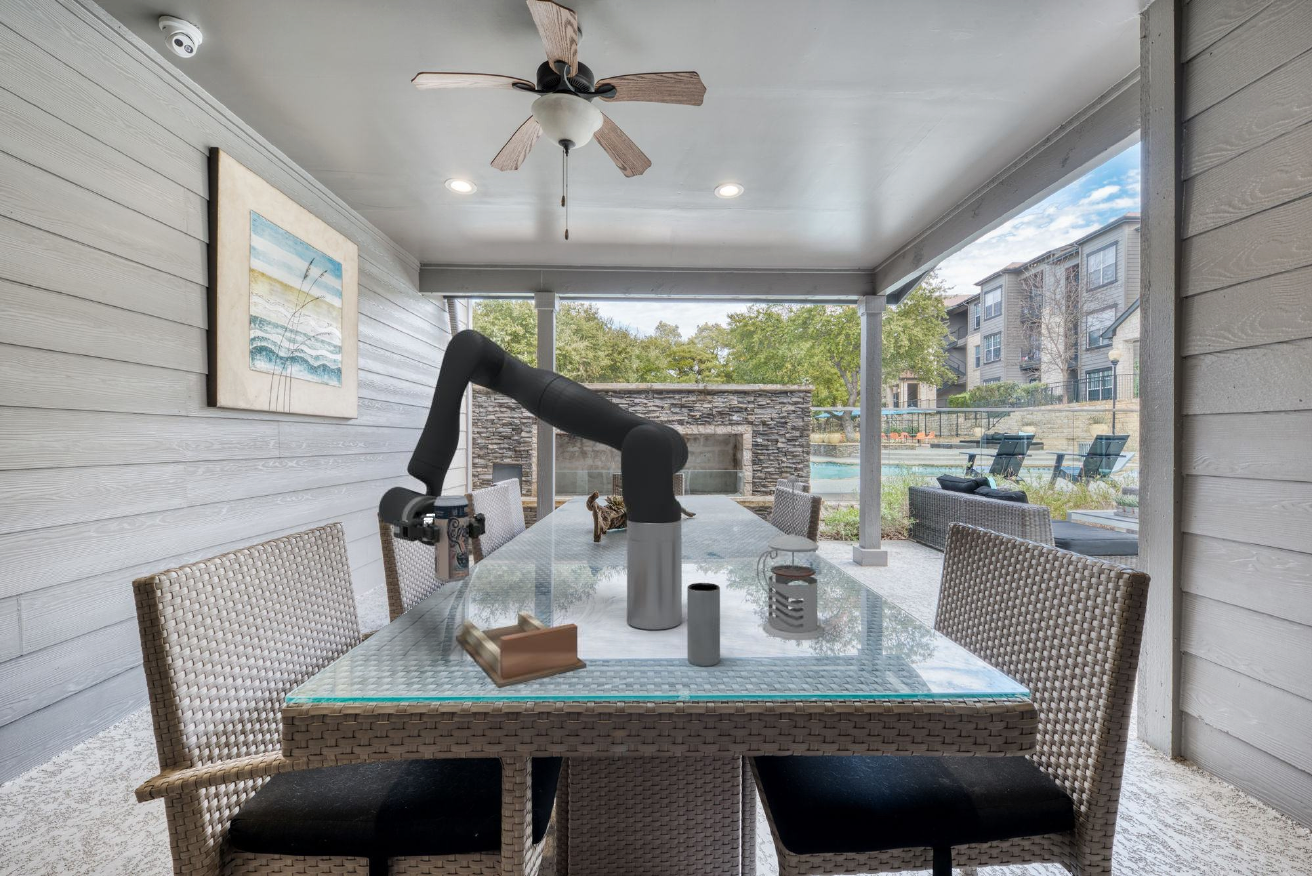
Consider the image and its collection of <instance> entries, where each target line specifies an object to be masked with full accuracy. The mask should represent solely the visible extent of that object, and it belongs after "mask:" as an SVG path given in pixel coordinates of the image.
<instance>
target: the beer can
mask: <svg viewBox="0 0 1312 876" xmlns="http://www.w3.org/2000/svg"><path fill="white" fill-rule="evenodd" d="M469 503H470V502H469V501H468V499H467V497H466V495H461V494H460V495H454V494H453V495H441V496H440V497H437V499H436V501H435V503H434V522H435V525H436V526H438V527H439V528H440V542H439V543H435V546H434V579H435V580H437V581H439V582H441V583H454V582H461V581H464V580H465V579H466V578H468V577H469V576H470V537H469V517H470V516H469V514H470V513H469V512H470V510H469V506H470V505H469Z"/></svg>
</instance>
